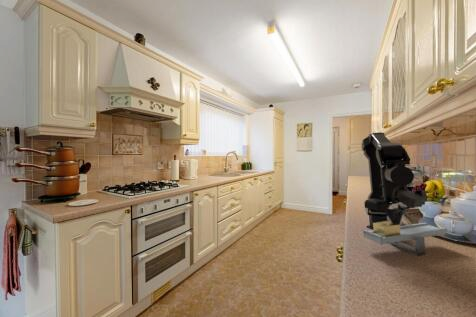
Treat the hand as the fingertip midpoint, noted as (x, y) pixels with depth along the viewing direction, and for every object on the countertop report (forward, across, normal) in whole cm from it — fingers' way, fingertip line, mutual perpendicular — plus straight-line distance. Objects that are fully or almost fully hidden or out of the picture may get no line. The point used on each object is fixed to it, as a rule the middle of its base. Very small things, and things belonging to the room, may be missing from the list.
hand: (396, 227), depth 69 cm
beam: (+3, +3, 0) cm, 4 cm away
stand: (+8, +3, 0) cm, 8 cm away
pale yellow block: (+2, -4, 0) cm, 4 cm away
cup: (+8, +24, +24) cm, 35 cm away
